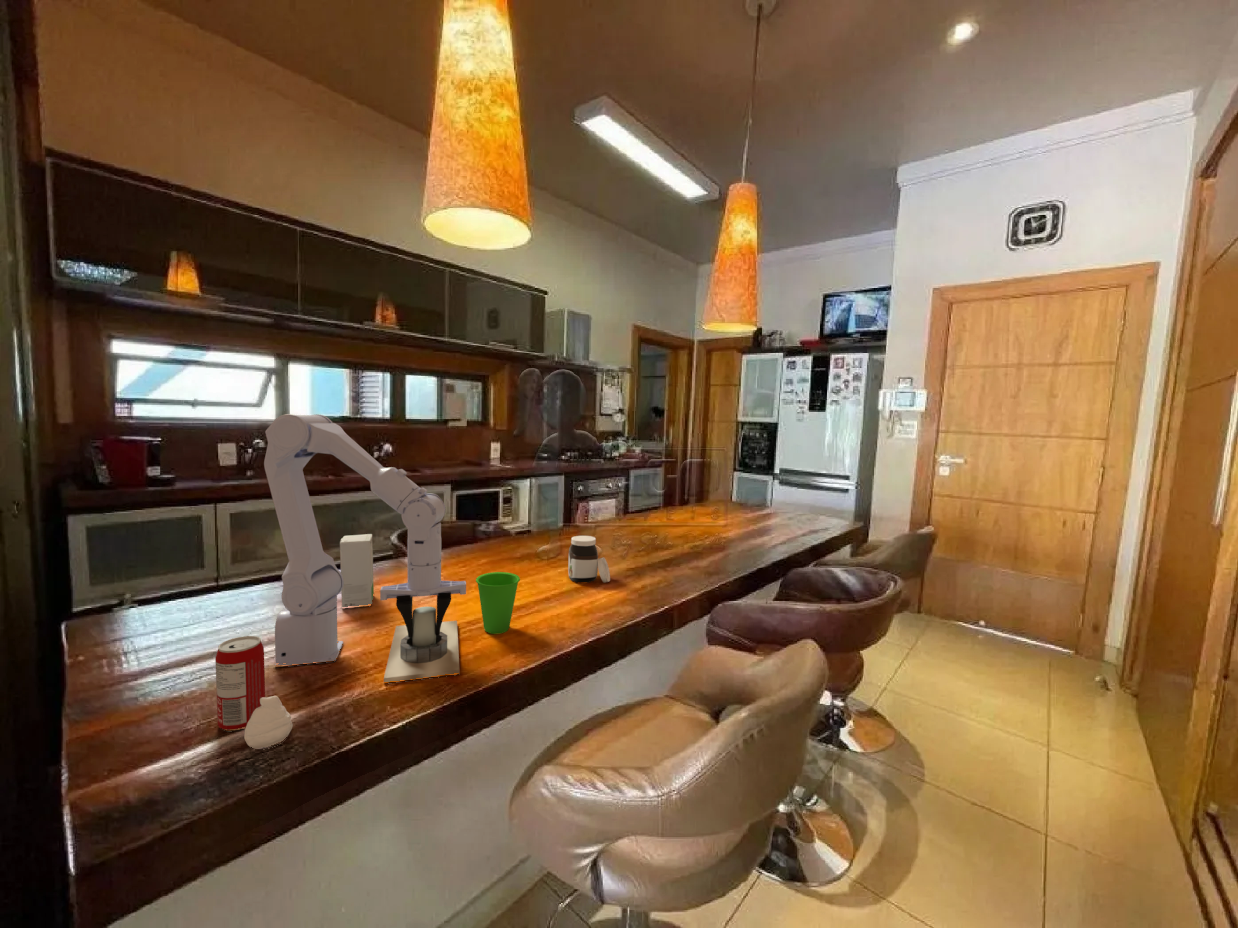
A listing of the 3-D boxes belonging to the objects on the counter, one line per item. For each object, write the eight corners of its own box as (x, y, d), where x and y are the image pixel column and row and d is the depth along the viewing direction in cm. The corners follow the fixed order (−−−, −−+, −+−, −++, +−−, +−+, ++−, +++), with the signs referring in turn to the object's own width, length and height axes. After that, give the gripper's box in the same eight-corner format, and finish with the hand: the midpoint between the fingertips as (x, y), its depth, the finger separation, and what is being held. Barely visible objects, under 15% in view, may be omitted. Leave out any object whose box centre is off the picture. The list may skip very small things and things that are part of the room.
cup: (473, 639, 103) (475, 586, 102) (475, 621, 112) (476, 572, 111) (519, 637, 105) (521, 585, 104) (517, 619, 114) (518, 571, 113)
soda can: (264, 706, 78) (262, 630, 77) (266, 724, 73) (264, 643, 72) (218, 718, 74) (215, 638, 73) (217, 738, 70) (214, 653, 69)
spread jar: (565, 574, 148) (566, 534, 147) (603, 572, 151) (604, 533, 150) (574, 587, 137) (575, 545, 136) (614, 585, 140) (616, 543, 139)
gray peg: (411, 653, 92) (411, 615, 91) (414, 643, 96) (414, 607, 95) (434, 651, 93) (435, 614, 92) (436, 641, 97) (436, 606, 96)
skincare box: (371, 607, 118) (371, 541, 117) (339, 610, 116) (338, 542, 114) (374, 595, 126) (373, 532, 124) (343, 597, 123) (343, 534, 122)
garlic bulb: (290, 683, 73) (293, 701, 69) (291, 723, 74) (294, 743, 70) (243, 694, 70) (243, 713, 66) (244, 735, 71) (244, 757, 66)
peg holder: (383, 684, 85) (383, 663, 85) (396, 630, 106) (396, 614, 106) (459, 674, 89) (459, 655, 89) (456, 625, 110) (457, 609, 109)
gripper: (377, 570, 87) (378, 647, 88) (466, 565, 92) (466, 639, 93) (382, 559, 94) (383, 631, 95) (465, 555, 98) (464, 623, 99)
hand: (424, 634), depth 94 cm, fingers closed on gray peg, 4 cm apart
